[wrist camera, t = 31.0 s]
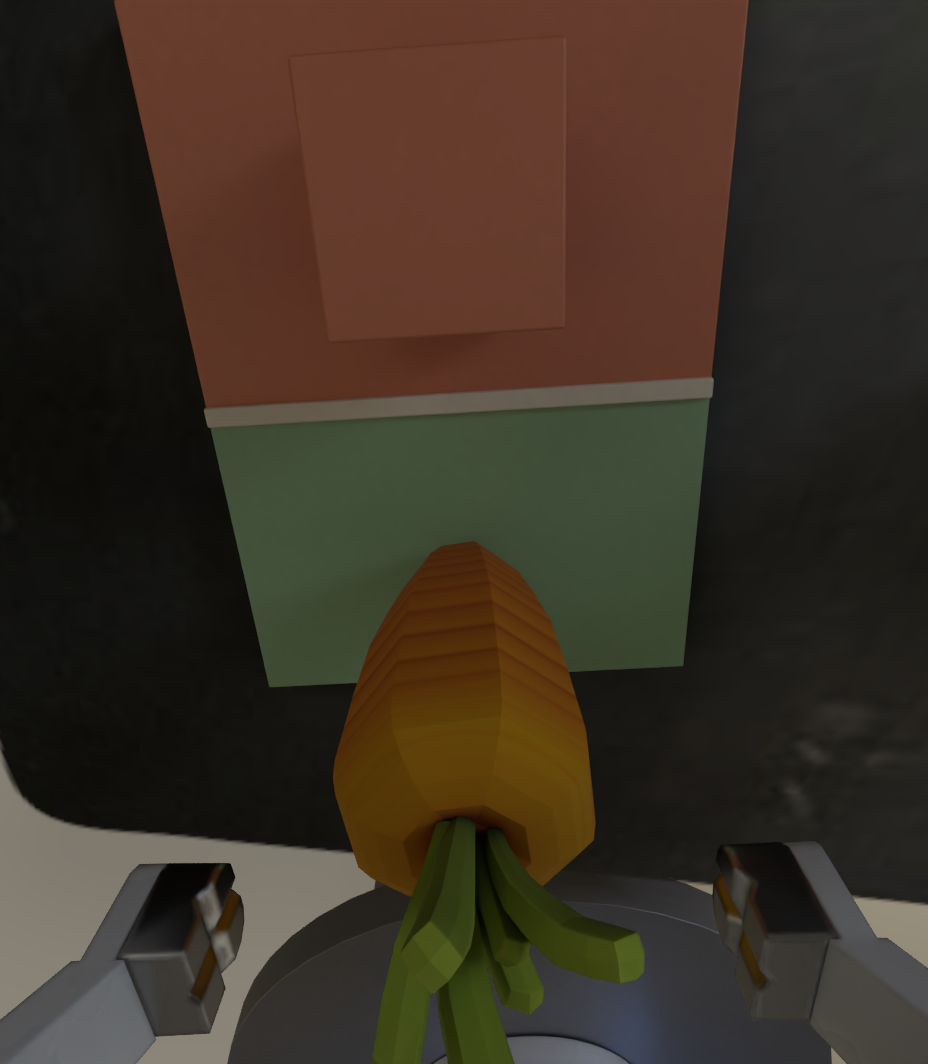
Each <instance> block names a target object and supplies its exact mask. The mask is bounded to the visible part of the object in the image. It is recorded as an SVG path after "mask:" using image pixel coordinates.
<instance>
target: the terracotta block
mask: <svg viewBox="0 0 928 1064" xmlns="http://www.w3.org/2000/svg"><path fill="white" fill-rule="evenodd" d="M288 66H289V73H290V80H291V87H292V94H293V101H294V108H295V115H296V122H297V129H298V136H299V143H300V150H301V157H302V164H303V171H304V178H305V185H306V192H307V199H308V206H309V213H310V220H311V227H312V234H313V241H314V248H315V255H316V262H317V269H318V276H319V283H320V290H321V297H322V304H323V311H324V318H325V325H326V332H327V339H328V341H329V343H347V342H363V341H379V340H395V339H411V338H427V337H443V336H458V335H474V334H490V333H506V332H522V331H538V330H554V329H563V328H564V327H565V304H566V114H567V40H566V37H565V36H549V37H535V38H521V39H507V40H493V41H480V42H466V43H452V44H438V45H424V46H410V47H396V48H382V49H369V50H355V51H341V52H327V53H313V54H299V55H291V56H289V57H288Z"/></svg>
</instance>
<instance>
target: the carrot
mask: <svg viewBox="0 0 928 1064" xmlns="http://www.w3.org/2000/svg"><path fill="white" fill-rule="evenodd" d="M333 781H334V789H335V796H336V799H337V802H338V805H339V808H340V811H341V814H342V818H343V821H344V824H345V827H346V830H347V833H348V836H349V839H350V842H351V845H352V848H353V851H354V855H355V858H356V861H357V864H358V867H359V868H360V869H361V870H363V871H364V872H365V873H366V874H367V875H369V876H370V877H371V878H373V879H375V880H377V881H379V882H381V883H383V884H385V885H387V886H389V887H391V888H394V889H396V890H398V891H400V892H402V893H404V894H406V895H408V896H410V897H411V899H410V902H409V905H408V907H407V910H406V913H405V916H404V919H403V921H402V924H401V927H400V930H399V933H398V935H397V938H396V941H395V944H394V947H393V951H392V955H391V960H390V964H389V969H388V973H387V978H386V983H385V987H384V992H383V996H382V1001H381V1005H380V1011H379V1019H378V1026H377V1032H376V1038H375V1044H374V1050H373V1056H372V1064H420V1061H421V1055H422V1050H423V1044H424V1038H425V1033H426V1027H427V1020H428V1012H429V1004H430V996H431V993H432V994H433V993H435V992H436V991H437V996H438V1013H439V1018H440V1023H441V1028H442V1033H443V1039H444V1044H445V1049H446V1054H447V1059H448V1064H514V1061H513V1058H512V1055H511V1052H510V1048H509V1045H508V1042H507V1038H506V1035H505V1032H504V1029H503V1025H502V1022H501V1019H500V1016H499V1012H498V1009H497V1006H496V1002H495V999H494V996H493V992H492V987H491V982H490V978H489V973H488V968H489V971H490V973H491V976H492V979H493V982H494V984H495V987H496V990H497V993H498V995H499V998H500V1001H501V1004H502V1005H503V1006H506V1007H509V1008H511V1009H514V1010H517V1011H520V1012H522V1013H525V1014H528V1015H530V1014H531V1013H532V1012H533V1011H534V1010H535V1009H536V1008H537V1007H538V1006H539V1005H540V1004H541V1003H542V1002H543V990H544V988H543V986H542V983H541V981H540V979H539V976H538V974H537V972H536V969H535V967H534V965H533V962H532V960H531V958H530V955H529V950H530V945H531V943H532V944H533V945H534V946H536V947H537V948H538V949H539V950H540V951H541V952H542V953H543V954H544V955H545V956H546V957H547V958H548V959H549V960H550V961H551V962H552V963H553V964H554V965H556V966H559V967H562V968H564V969H567V970H570V971H572V972H575V973H578V974H580V975H583V976H586V977H588V978H593V979H598V980H604V981H610V982H615V983H624V982H629V981H634V980H636V979H637V978H638V977H639V976H640V975H642V974H643V973H644V960H645V951H644V948H643V946H642V943H641V940H640V937H639V934H638V932H635V931H632V930H628V929H625V928H622V927H618V926H615V925H611V924H608V923H604V922H601V921H597V920H593V919H590V918H586V917H583V916H582V915H580V914H579V913H577V912H576V911H575V910H573V909H572V908H570V907H569V906H567V905H566V904H564V903H563V902H561V901H560V900H559V899H557V898H556V897H554V896H553V895H552V894H551V893H550V892H548V891H547V890H546V889H545V888H544V887H542V886H543V885H544V884H546V883H547V882H548V881H549V880H550V879H551V878H552V877H553V876H555V875H556V874H557V873H558V872H559V871H560V870H561V869H562V868H564V867H565V866H566V865H567V864H568V863H569V862H570V861H571V860H573V859H574V858H575V857H576V856H577V855H578V854H579V853H580V852H581V851H583V850H584V849H585V848H586V847H587V846H588V845H589V844H590V843H591V842H592V841H593V840H594V832H595V813H594V803H593V794H592V784H591V774H590V764H589V754H588V744H587V736H586V729H585V725H584V722H583V719H582V715H581V712H580V709H579V705H578V702H577V699H576V695H575V692H574V689H573V685H572V682H571V679H570V675H569V672H568V669H567V665H566V663H565V660H564V657H563V654H562V651H561V648H560V646H559V643H558V640H557V637H556V634H555V631H554V629H553V626H552V623H551V620H550V619H549V617H548V615H547V614H546V612H545V610H544V608H543V607H542V605H541V603H540V602H539V600H538V598H537V597H536V595H535V593H534V592H533V591H532V589H531V588H530V586H529V585H528V584H527V582H526V581H525V580H524V578H523V577H522V575H521V574H520V573H519V572H518V571H517V570H516V569H514V568H513V567H512V566H510V565H509V564H508V563H506V562H505V561H504V560H502V559H501V558H499V557H498V556H496V555H495V554H493V553H492V552H490V551H489V550H487V549H486V548H484V547H483V546H481V545H480V544H478V543H477V542H475V541H472V542H465V543H458V544H451V545H444V546H441V547H439V548H438V549H436V550H435V551H433V552H432V553H430V555H429V556H428V557H427V559H426V560H425V561H424V562H423V564H422V565H421V566H420V567H419V569H418V570H417V571H416V573H415V574H414V575H413V576H412V578H411V579H410V580H409V581H408V583H407V584H406V585H405V587H404V588H403V589H402V591H401V592H400V594H399V596H398V597H397V599H396V600H395V602H394V603H393V605H392V607H391V608H390V610H389V611H388V613H387V614H386V616H385V618H384V620H383V622H382V624H381V625H380V627H379V629H378V631H377V633H376V635H375V636H374V638H373V640H372V642H371V644H370V646H369V649H368V652H367V655H366V658H365V661H364V664H363V667H362V670H361V673H360V676H359V679H358V682H357V685H356V688H355V691H354V694H353V698H352V701H351V705H350V708H349V712H348V715H347V719H346V723H345V726H344V730H343V733H342V737H341V740H340V744H339V747H338V751H337V754H336V758H335V763H334V772H333ZM486 962H487V963H486ZM487 965H488V968H487Z"/></svg>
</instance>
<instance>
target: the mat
mask: <svg viewBox="0 0 928 1064" xmlns="http://www.w3.org/2000/svg"><path fill="white" fill-rule="evenodd" d="M748 3H749V0H114V4H115V8H116V12H117V17H118V21H119V26H120V30H121V34H122V39H123V43H124V48H125V52H126V56H127V61H128V65H129V70H130V74H131V79H132V83H133V87H134V92H135V96H136V101H137V105H138V109H139V114H140V118H141V123H142V127H143V131H144V136H145V140H146V145H147V149H148V153H149V158H150V162H151V167H152V171H153V175H154V180H155V184H156V189H157V193H158V197H159V202H160V206H161V211H162V215H163V219H164V224H165V228H166V233H167V237H168V241H169V246H170V250H171V255H172V259H173V263H174V268H175V272H176V277H177V281H178V285H179V290H180V294H181V299H182V303H183V307H184V312H185V316H186V321H187V325H188V329H189V334H190V338H191V343H192V347H193V351H194V356H195V360H196V365H197V369H198V373H199V378H200V382H201V387H202V391H203V395H204V400H205V404H206V408H205V409H204V413H205V417H206V422H207V426H208V427H209V428H211V432H212V437H213V441H214V445H215V450H216V454H217V459H218V463H219V467H220V472H221V476H222V481H223V485H224V489H225V494H226V498H227V503H228V507H229V511H230V516H231V520H232V525H233V529H234V533H235V538H236V542H237V547H238V551H239V555H240V560H241V564H242V569H243V573H244V577H245V582H246V586H247V591H248V595H249V599H250V604H251V608H252V612H253V617H254V621H255V626H256V630H257V634H258V639H259V643H260V648H261V652H262V656H263V661H264V665H265V670H266V674H267V678H268V683H269V687H284V686H303V685H323V684H342V683H357V682H358V679H359V676H360V673H361V670H362V667H363V664H364V661H365V658H366V655H367V652H368V649H369V646H370V644H371V642H372V640H373V638H374V636H375V635H376V633H377V631H378V629H379V627H380V625H381V624H382V622H383V620H384V618H385V616H386V614H387V613H388V611H389V610H390V608H391V607H392V605H393V603H394V602H395V600H396V599H397V597H398V596H399V594H400V592H401V591H402V589H403V588H404V587H405V585H406V584H407V583H408V581H409V580H410V579H411V578H412V576H413V575H414V574H415V573H416V571H417V570H418V569H419V567H420V566H421V565H422V564H423V562H424V561H425V560H426V559H427V557H428V556H429V555H430V553H432V552H433V551H435V550H436V549H438V548H439V547H441V546H444V545H451V544H458V543H465V542H472V541H475V542H477V543H478V544H480V545H481V546H483V547H484V548H486V549H487V550H489V551H490V552H492V553H493V554H495V555H496V556H498V557H499V558H501V559H502V560H504V561H505V562H506V563H508V564H509V565H510V566H512V567H513V568H514V569H516V570H517V571H518V572H519V573H520V574H521V575H522V577H523V578H524V580H525V581H526V582H527V584H528V585H529V586H530V588H531V589H532V591H533V592H534V593H535V595H536V597H537V598H538V600H539V602H540V603H541V605H542V607H543V608H544V610H545V612H546V614H547V615H548V617H549V619H550V620H551V623H552V626H553V629H554V631H555V634H556V637H557V640H558V643H559V646H560V648H561V651H562V654H563V657H564V660H565V663H566V665H567V669H568V672H576V671H595V670H615V669H634V668H654V667H673V666H683V662H684V652H685V642H686V632H687V622H688V612H689V602H690V592H691V581H692V571H693V561H694V551H695V541H696V531H697V521H698V511H699V501H700V491H701V481H702V471H703V460H704V450H705V440H706V430H707V420H708V410H709V400H710V398H711V397H712V394H713V384H714V379H713V378H712V367H713V357H714V346H715V336H716V326H717V316H718V306H719V296H720V286H721V276H722V266H723V256H724V245H725V235H726V225H727V215H728V205H729V195H730V185H731V175H732V165H733V155H734V144H735V134H736V124H737V114H738V104H739V94H740V84H741V74H742V64H743V54H744V43H745V33H746V23H747V13H748ZM549 36H565V37H566V40H567V114H566V304H565V327H564V328H563V329H554V330H538V331H522V332H506V333H490V334H474V335H458V336H443V337H427V338H411V339H395V340H379V341H363V342H347V343H329V341H328V339H327V332H326V325H325V318H324V311H323V304H322V297H321V290H320V283H319V276H318V269H317V262H316V255H315V248H314V241H313V234H312V227H311V220H310V213H309V206H308V199H307V192H306V185H305V178H304V171H303V164H302V157H301V150H300V143H299V136H298V129H297V122H296V115H295V108H294V101H293V94H292V87H291V80H290V73H289V66H288V57H289V56H291V55H299V54H313V53H327V52H341V51H355V50H369V49H382V48H396V47H410V46H424V45H438V44H452V43H466V42H480V41H493V40H507V39H521V38H535V37H549Z"/></svg>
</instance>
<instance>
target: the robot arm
mask: <svg viewBox="0 0 928 1064" xmlns="http://www.w3.org/2000/svg"><path fill="white" fill-rule="evenodd" d="M716 862H717V865H718V867H719V870H720V872H721V874H720V875H719V876H718V877H717V878H716V879H715V880H714V882H713V894H712V897H713V906H714V914H715V918H716V922H717V926H718V930H719V932H720V935H721V938H722V941H723V944H724V946H725V947H726V948H728V949H729V950H730V951H731V952H732V953H733V954H734V955H735V956H736V957H737V962H736V969H735V976H736V979H737V982H738V984H739V987H740V990H741V992H742V995H743V998H744V1000H745V1003H746V1006H747V1008H748V1011H749V1014H750V1016H751V1019H752V1020H795V1021H810V1025H811V1026H812V1027H813V1028H814V1029H815V1030H816V1031H817V1032H818V1033H819V1034H820V1035H821V1037H822V1038H823V1039H824V1040H825V1041H826V1042H827V1043H828V1044H829V1045H830V1046H831V1047H832V1048H833V1049H834V1050H835V1052H836V1053H837V1054H838V1055H839V1056H840V1057H841V1058H842V1059H843V1060H844V1061H845V1062H846V1063H847V1064H928V968H927V967H925V966H924V965H923V964H921V963H920V962H919V961H917V960H916V959H914V958H913V957H912V956H910V955H909V954H908V953H907V952H905V951H904V950H903V949H901V948H900V947H898V946H897V945H896V944H895V943H893V942H892V941H891V940H889V939H888V938H877V937H876V935H875V934H874V932H873V930H872V929H871V927H870V926H869V924H868V922H867V920H866V919H865V917H864V916H863V914H862V912H861V911H860V909H859V907H858V906H857V904H856V902H855V901H854V899H853V897H852V896H851V894H850V892H849V891H848V889H847V888H846V886H845V884H844V883H843V881H842V879H841V878H840V876H839V874H838V873H837V871H836V869H835V868H834V866H833V865H832V863H831V861H830V860H829V858H828V856H827V855H826V853H825V851H824V850H823V848H822V847H821V846H820V845H819V844H818V843H817V842H815V841H814V842H784V843H781V842H770V843H750V844H729V845H721V846H720V847H719V849H718V851H717V858H716ZM234 879H235V875H234V872H233V869H232V866H231V864H229V863H173V864H172V863H169V864H139V865H138V866H137V867H136V868H135V869H134V870H133V871H132V872H131V873H130V874H129V876H128V878H127V879H126V881H125V883H124V885H123V886H122V888H121V890H120V892H119V894H118V895H117V897H116V899H115V901H114V902H113V904H112V906H111V908H110V909H109V911H108V913H107V915H106V916H105V918H104V920H103V922H102V923H101V925H100V927H99V929H98V931H97V932H96V934H95V936H94V938H93V939H92V941H91V943H90V945H89V946H88V948H87V950H86V952H85V953H84V955H83V957H82V959H81V960H80V961H71V962H70V963H69V964H67V965H66V966H65V967H64V968H63V969H62V970H60V971H59V972H58V973H57V974H55V975H54V976H53V977H52V978H51V979H49V980H48V981H47V982H46V983H44V984H43V985H42V986H41V987H40V988H38V989H37V990H36V991H35V992H33V993H32V994H31V995H30V996H29V997H27V998H26V999H25V1000H24V1001H23V1002H21V1003H20V1004H19V1005H18V1006H17V1007H16V1008H14V1009H13V1010H12V1011H11V1012H9V1013H8V1014H7V1015H6V1016H4V1017H3V1018H2V1019H1V1020H0V1064H136V1063H137V1062H138V1061H139V1060H140V1058H141V1057H142V1056H143V1055H144V1054H145V1053H146V1051H147V1050H148V1049H149V1047H150V1046H151V1045H152V1044H153V1043H154V1042H155V1040H156V1039H155V1037H156V1036H174V1035H190V1034H207V1033H210V1031H211V1028H212V1026H213V1023H214V1020H215V1017H216V1014H217V1011H218V1008H219V1005H220V1002H221V999H222V997H223V994H224V991H225V985H224V982H223V978H222V975H221V973H222V972H223V971H224V970H225V969H226V968H227V967H228V966H229V965H230V964H231V963H232V962H233V961H234V960H235V959H236V956H237V952H238V949H239V946H240V943H241V939H242V933H243V926H244V908H243V903H242V899H241V896H240V895H238V894H237V893H236V892H235V891H234V890H232V889H231V888H232V885H233V882H234ZM507 1042H508V1045H509V1048H510V1052H511V1055H512V1058H513V1061H514V1064H629V1063H628V1062H626V1061H625V1060H624V1059H622V1058H621V1057H619V1056H618V1055H616V1054H614V1053H612V1052H610V1051H608V1050H606V1049H604V1048H601V1047H598V1046H596V1045H593V1044H589V1043H586V1042H582V1041H578V1040H573V1039H567V1038H560V1037H549V1036H519V1037H508V1038H507ZM434 1064H448V1059H447V1055H446V1056H445V1057H443V1058H441V1059H440V1060H438V1061H436V1062H435V1063H434Z"/></svg>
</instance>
